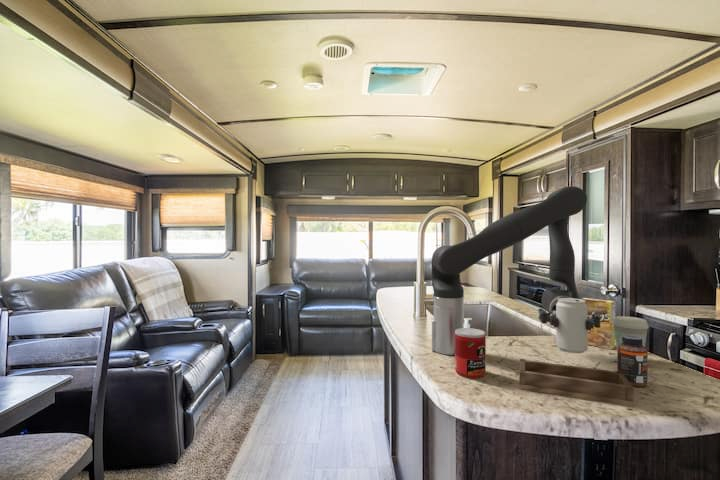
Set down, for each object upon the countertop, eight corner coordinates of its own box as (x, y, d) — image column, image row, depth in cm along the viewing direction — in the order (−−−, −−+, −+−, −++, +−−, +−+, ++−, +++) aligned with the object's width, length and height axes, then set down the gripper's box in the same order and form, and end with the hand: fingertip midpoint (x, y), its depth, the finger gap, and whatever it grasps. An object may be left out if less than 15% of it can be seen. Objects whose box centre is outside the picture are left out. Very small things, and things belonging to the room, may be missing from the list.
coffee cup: (610, 360, 106) (610, 318, 106) (614, 353, 112) (614, 314, 112) (647, 366, 100) (647, 323, 100) (650, 359, 106) (650, 318, 106)
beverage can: (592, 355, 82) (592, 302, 82) (561, 353, 83) (561, 301, 83) (581, 346, 88) (580, 297, 88) (552, 345, 89) (552, 297, 89)
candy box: (581, 343, 122) (580, 298, 122) (585, 341, 125) (585, 297, 125) (611, 350, 116) (611, 302, 116) (615, 347, 118) (615, 300, 118)
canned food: (470, 380, 90) (470, 336, 90) (448, 370, 97) (448, 329, 97) (492, 375, 93) (492, 333, 93) (469, 366, 101) (469, 326, 101)
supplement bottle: (649, 389, 85) (649, 341, 85) (618, 384, 88) (618, 337, 88) (645, 381, 90) (645, 335, 90) (616, 376, 93) (616, 332, 93)
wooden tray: (519, 388, 85) (519, 372, 85) (520, 373, 95) (520, 358, 95) (633, 406, 76) (633, 388, 76) (621, 387, 86) (621, 371, 86)
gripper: (536, 295, 102) (537, 306, 86) (596, 298, 95) (609, 310, 80) (536, 322, 102) (537, 337, 86) (596, 327, 96) (609, 344, 80)
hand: (572, 324), depth 83 cm, fingers closed on beverage can, 6 cm apart
